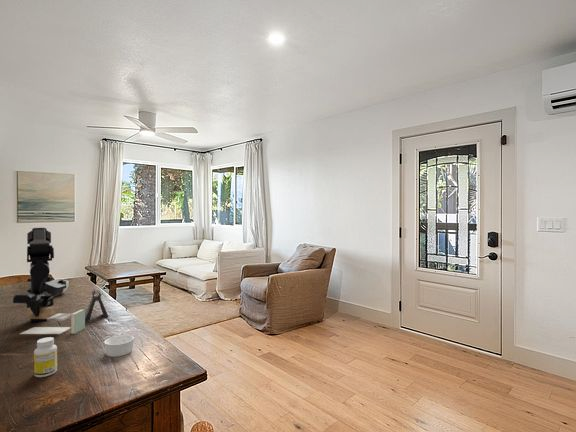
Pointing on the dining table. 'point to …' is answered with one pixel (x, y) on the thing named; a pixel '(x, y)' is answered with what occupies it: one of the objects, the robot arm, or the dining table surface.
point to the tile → (77, 321)
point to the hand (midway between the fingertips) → (39, 315)
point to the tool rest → (46, 330)
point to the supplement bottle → (45, 357)
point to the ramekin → (119, 345)
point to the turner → (47, 314)
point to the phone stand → (91, 305)
